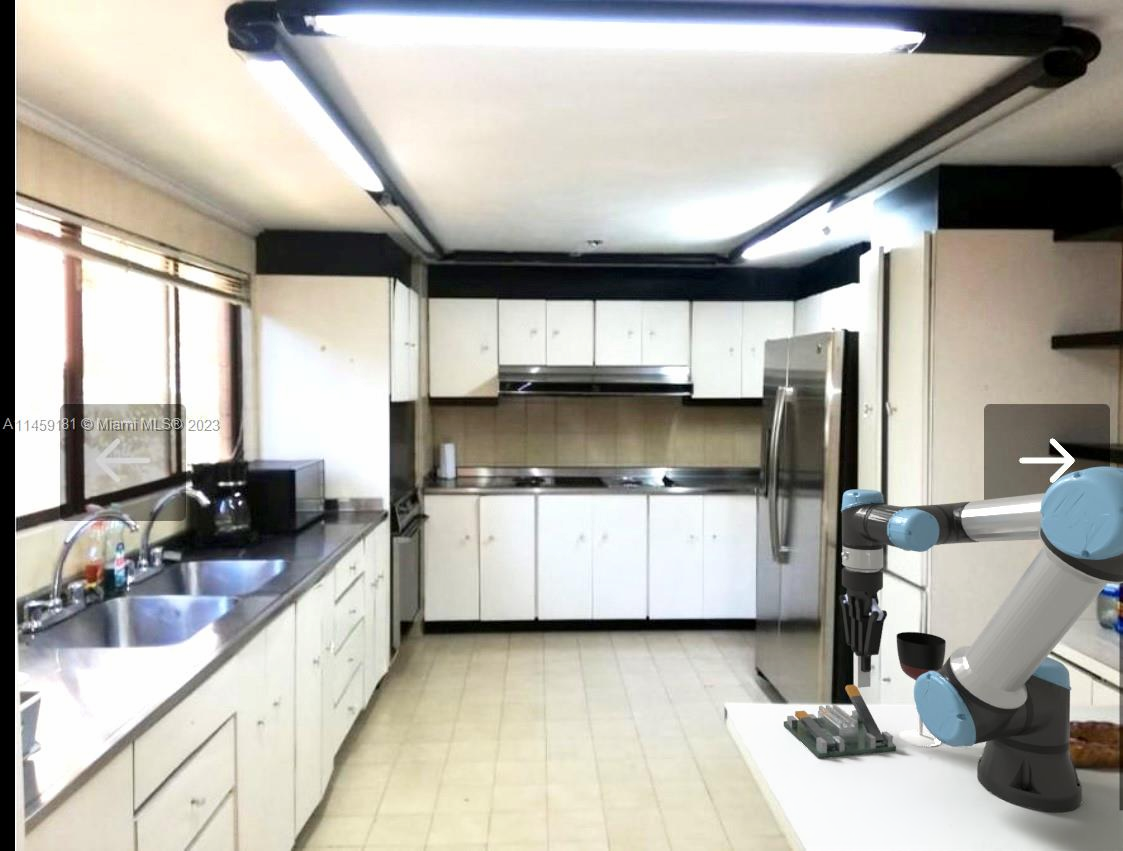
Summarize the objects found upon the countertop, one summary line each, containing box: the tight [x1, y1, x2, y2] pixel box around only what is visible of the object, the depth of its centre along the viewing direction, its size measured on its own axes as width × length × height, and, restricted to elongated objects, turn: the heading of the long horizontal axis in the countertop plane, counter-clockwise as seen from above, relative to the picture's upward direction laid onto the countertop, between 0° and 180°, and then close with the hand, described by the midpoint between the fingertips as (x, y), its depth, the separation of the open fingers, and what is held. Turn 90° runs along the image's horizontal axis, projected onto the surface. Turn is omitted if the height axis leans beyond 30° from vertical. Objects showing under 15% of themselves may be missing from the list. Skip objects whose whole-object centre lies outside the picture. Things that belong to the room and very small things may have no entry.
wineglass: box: [896, 631, 947, 748], centre depth 142 cm, size 8×9×20 cm
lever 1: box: [794, 710, 835, 749], centre depth 142 cm, size 12×2×1 cm, turn 9°
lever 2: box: [844, 684, 884, 743], centre depth 143 cm, size 12×2×1 cm
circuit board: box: [783, 704, 897, 760], centre depth 143 cm, size 14×16×5 cm
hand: (862, 685), depth 143 cm, fingers closed
